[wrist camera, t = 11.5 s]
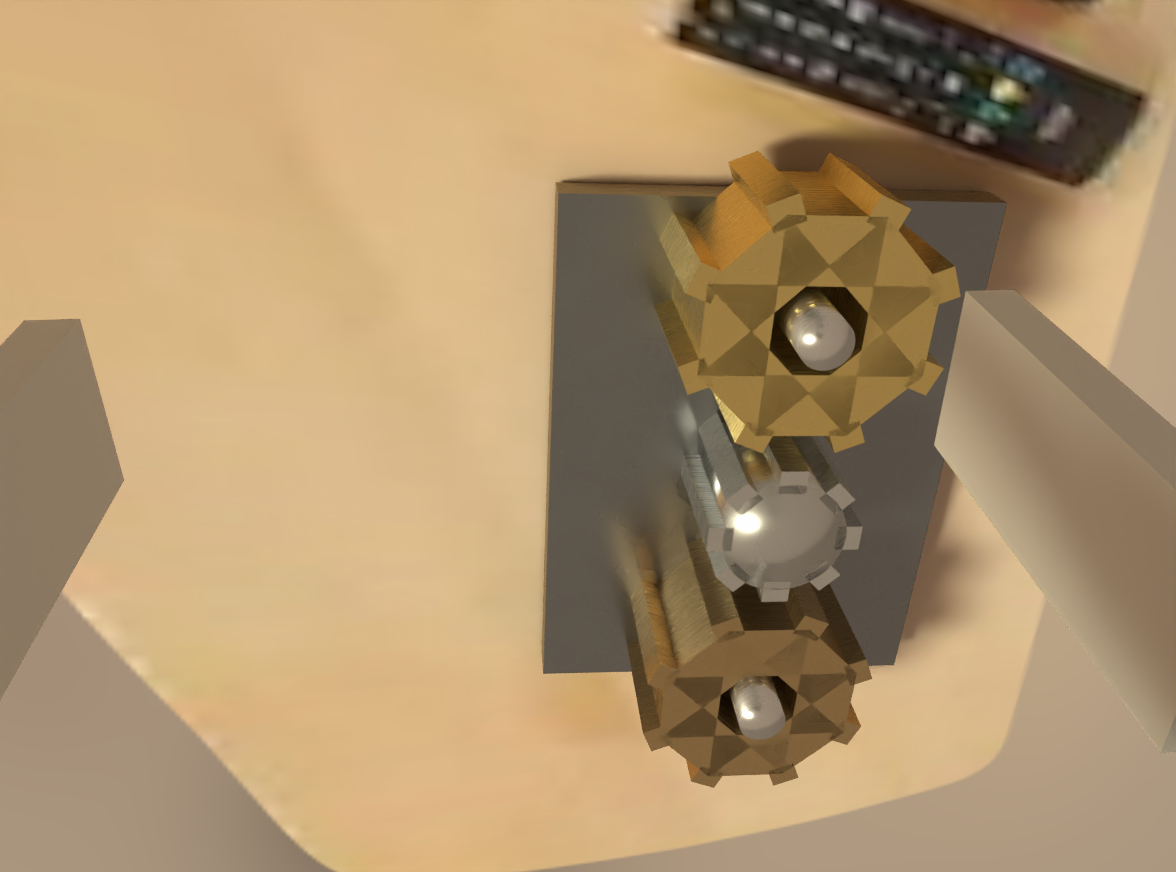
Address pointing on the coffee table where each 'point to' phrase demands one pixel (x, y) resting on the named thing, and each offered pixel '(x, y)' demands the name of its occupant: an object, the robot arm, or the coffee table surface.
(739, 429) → the gear
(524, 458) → the coffee table surface
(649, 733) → the seated gear
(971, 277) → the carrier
